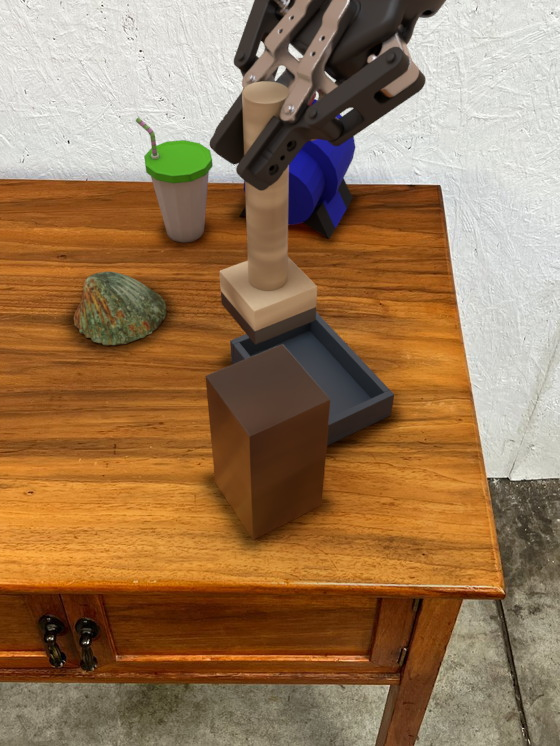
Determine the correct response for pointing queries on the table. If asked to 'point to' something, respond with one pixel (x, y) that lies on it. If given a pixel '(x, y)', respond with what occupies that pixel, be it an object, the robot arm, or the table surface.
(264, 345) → the tray
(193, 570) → the table surface
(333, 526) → the table surface
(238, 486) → the stand
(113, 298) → the seashell
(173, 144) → the cup
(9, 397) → the table surface
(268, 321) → the wooden peg on base
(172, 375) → the table surface
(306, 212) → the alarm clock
